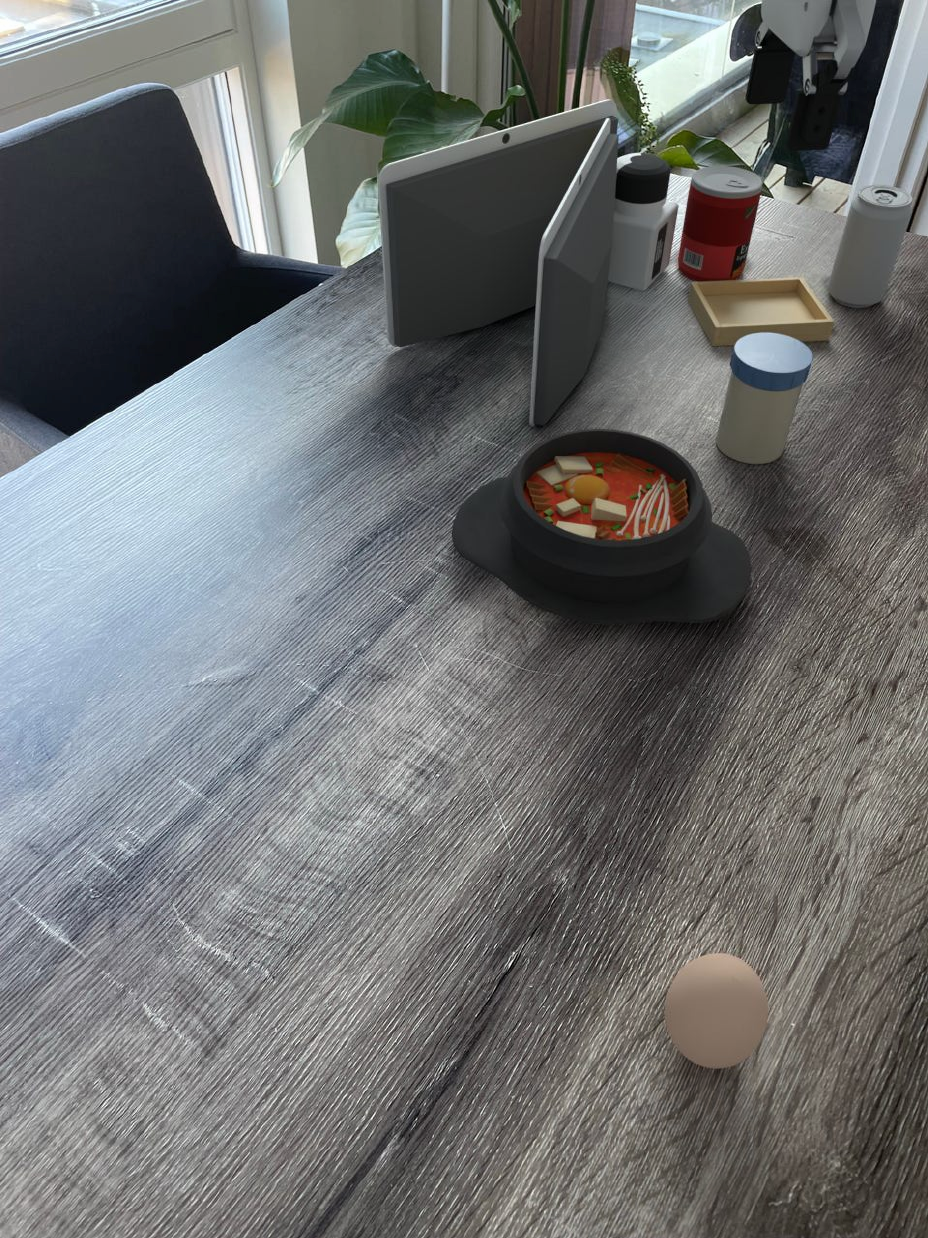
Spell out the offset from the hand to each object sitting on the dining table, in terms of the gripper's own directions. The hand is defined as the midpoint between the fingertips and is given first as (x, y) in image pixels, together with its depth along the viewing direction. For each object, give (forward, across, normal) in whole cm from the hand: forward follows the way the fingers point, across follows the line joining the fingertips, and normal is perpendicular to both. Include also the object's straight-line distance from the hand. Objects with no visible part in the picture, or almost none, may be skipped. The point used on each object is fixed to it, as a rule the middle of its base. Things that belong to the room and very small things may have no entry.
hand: (784, 124), depth 78 cm
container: (+28, +32, +2) cm, 42 cm away
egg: (+28, -58, +18) cm, 67 cm away
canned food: (+28, +32, -8) cm, 43 cm away
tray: (+28, +20, -10) cm, 36 cm away
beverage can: (+28, +24, -23) cm, 44 cm away
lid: (+19, -3, -2) cm, 19 cm away
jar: (+28, -3, -2) cm, 28 cm away
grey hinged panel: (+28, +20, +19) cm, 39 cm away
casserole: (+28, -18, +16) cm, 37 cm away
